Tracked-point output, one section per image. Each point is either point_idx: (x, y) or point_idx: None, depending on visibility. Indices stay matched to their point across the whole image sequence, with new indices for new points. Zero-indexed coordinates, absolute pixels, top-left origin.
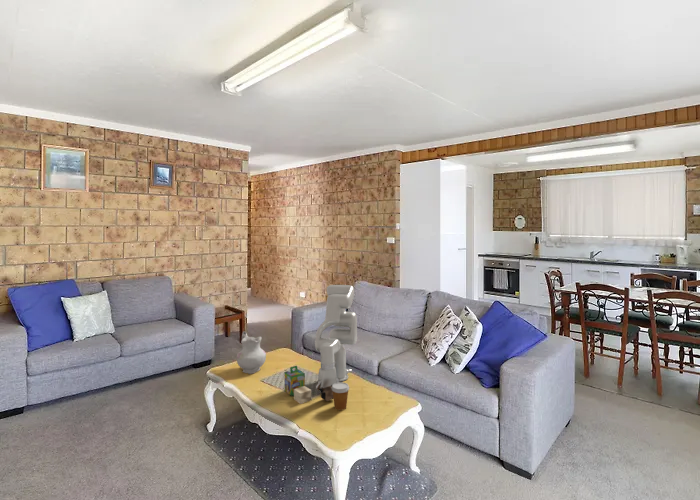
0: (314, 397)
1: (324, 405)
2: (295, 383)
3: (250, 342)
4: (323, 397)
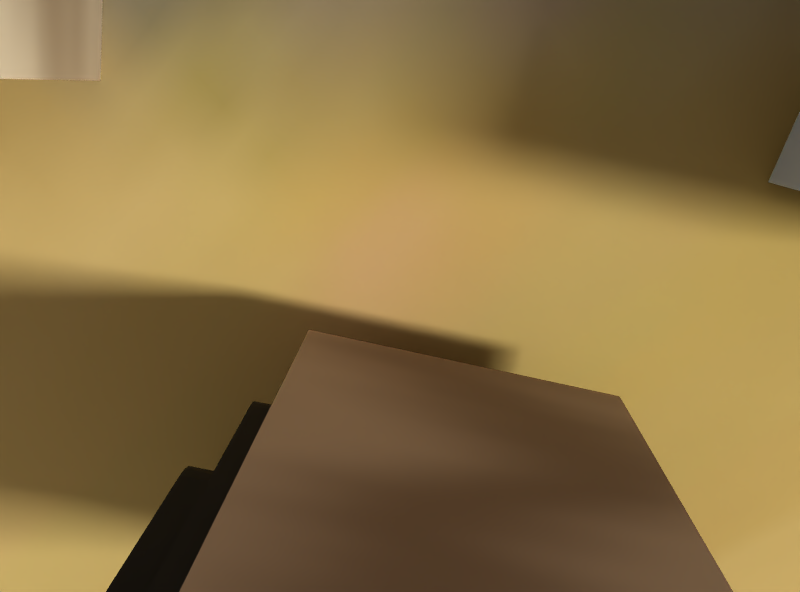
0: (303, 6)
1: None
2: None
3: None
4: None
